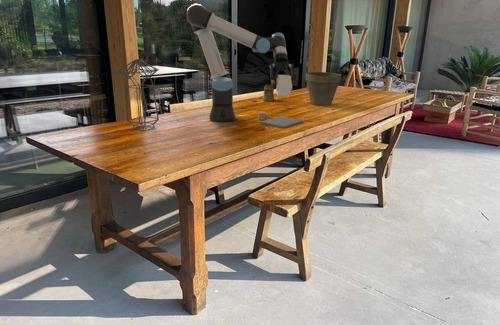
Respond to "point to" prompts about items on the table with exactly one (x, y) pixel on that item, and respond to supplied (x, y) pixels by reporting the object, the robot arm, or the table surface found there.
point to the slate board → (281, 122)
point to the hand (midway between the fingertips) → (284, 89)
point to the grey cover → (284, 85)
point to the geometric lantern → (139, 90)
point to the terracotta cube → (262, 115)
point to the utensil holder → (269, 92)
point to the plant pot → (322, 87)
